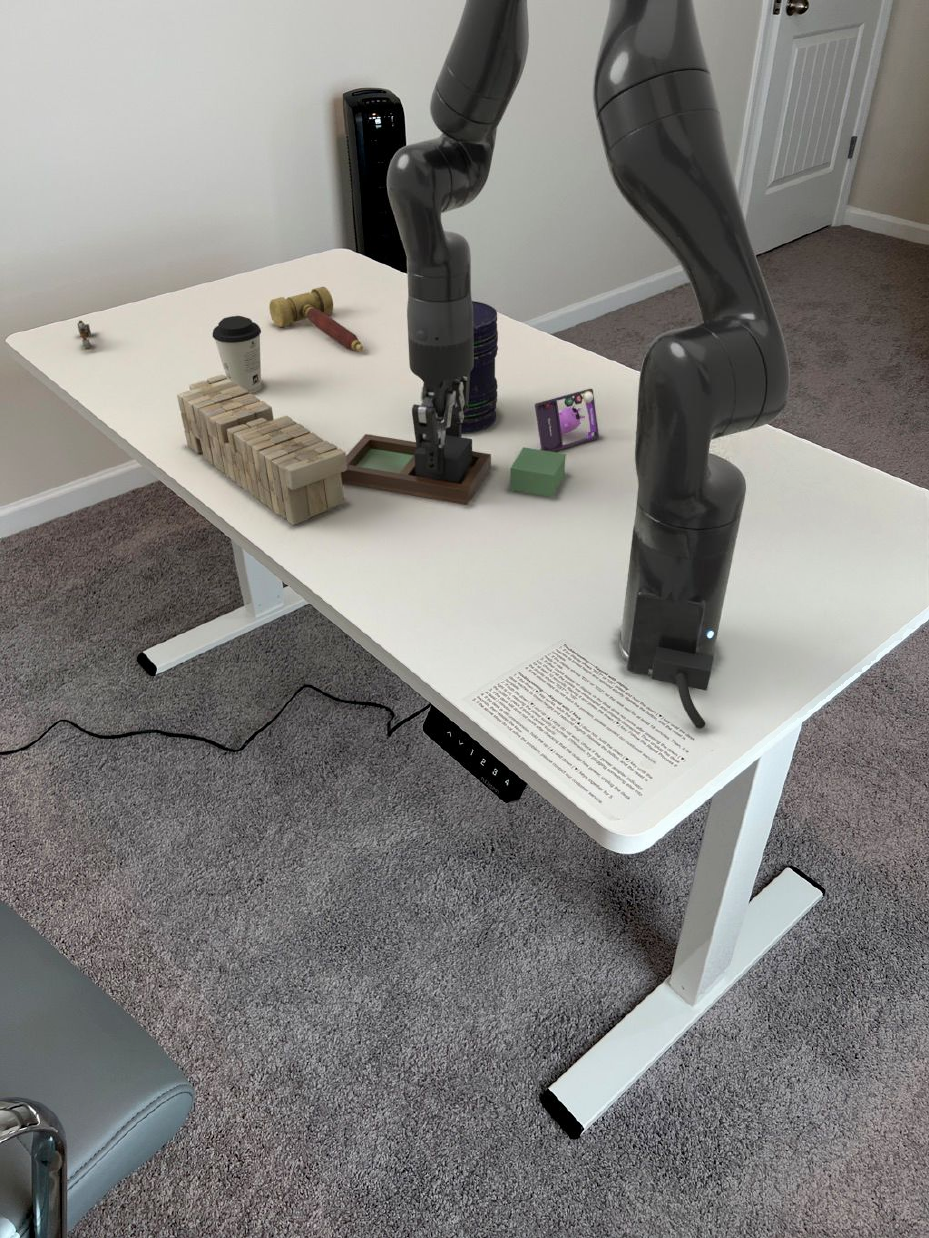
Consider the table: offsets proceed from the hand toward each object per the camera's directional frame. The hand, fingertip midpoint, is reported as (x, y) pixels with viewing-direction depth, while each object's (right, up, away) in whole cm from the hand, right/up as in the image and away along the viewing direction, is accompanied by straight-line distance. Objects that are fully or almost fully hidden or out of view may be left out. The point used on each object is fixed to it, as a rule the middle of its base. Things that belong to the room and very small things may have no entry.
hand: (444, 460), depth 120 cm
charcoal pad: (0, -1, +1) cm, 1 cm away
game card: (+16, +4, +10) cm, 19 cm away
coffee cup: (-30, +15, +24) cm, 41 cm away
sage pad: (+12, -3, +1) cm, 12 cm away
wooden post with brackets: (-59, +25, +38) cm, 75 cm away
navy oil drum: (+2, +8, +15) cm, 18 cm away
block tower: (-24, -1, +4) cm, 24 cm away
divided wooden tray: (-4, -1, +3) cm, 5 cm away
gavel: (-20, +27, +39) cm, 52 cm away
